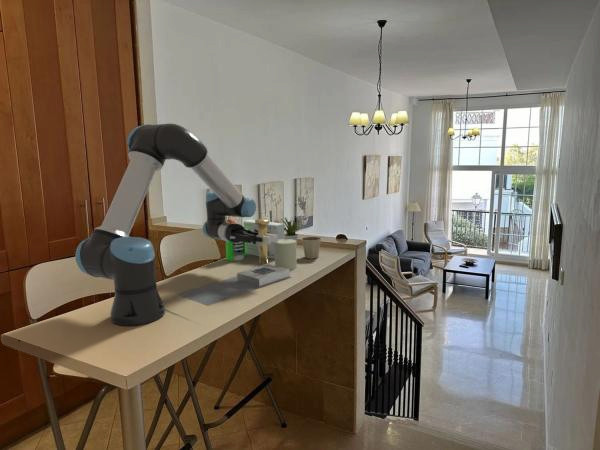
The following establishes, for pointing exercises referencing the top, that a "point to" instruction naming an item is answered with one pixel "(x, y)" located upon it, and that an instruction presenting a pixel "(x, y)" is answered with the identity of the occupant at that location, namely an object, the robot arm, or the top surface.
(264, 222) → the pin
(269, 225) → the skincare box
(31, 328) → the top surface
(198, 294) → the mat
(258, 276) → the grey flat rectangular block
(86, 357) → the top surface
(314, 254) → the flower pot
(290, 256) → the can
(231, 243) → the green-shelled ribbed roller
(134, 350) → the top surface
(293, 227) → the house plant
